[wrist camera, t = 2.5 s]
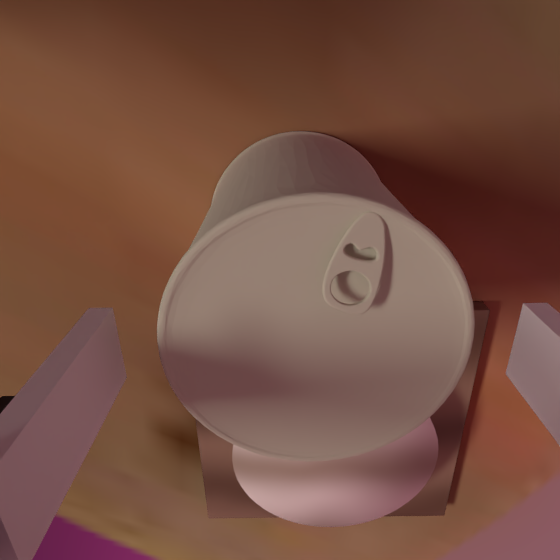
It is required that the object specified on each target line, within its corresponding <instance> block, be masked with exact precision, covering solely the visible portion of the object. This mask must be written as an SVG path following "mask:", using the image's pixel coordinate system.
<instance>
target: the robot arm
mask: <svg viewBox="0 0 560 560" xmlns="http://www.w3.org/2000/svg"><path fill="white" fill-rule="evenodd" d="M506 375H507V376H508V378H509V379H510V380H511V382H512V383H513V384H514V386H515V387H516V388H517V390H518V391H519V392H520V394H521V395H522V396H523V398H524V399H525V400H526V402H527V403H528V404H529V406H530V407H531V408H532V410H533V411H534V412H535V414H536V415H537V416H538V418H539V419H540V420H541V422H542V423H543V424H544V426H545V427H546V428H547V430H548V431H549V432H550V434H551V435H552V436H553V438H554V439H555V440H556V442H557V443H558V444H559V446H560V313H559V312H558V311H556V310H555V309H554V308H553V307H552V306H550V305H549V304H548V303H523V306H522V310H521V314H520V318H519V322H518V326H517V330H516V334H515V338H514V342H513V346H512V350H511V354H510V358H509V362H508V366H507V370H506ZM126 378H127V377H126V372H125V367H124V362H123V357H122V352H121V347H120V342H119V337H118V332H117V327H116V322H115V317H114V312H113V308H89V309H88V310H87V311H86V312H85V313H84V315H83V316H82V317H81V318H80V319H79V321H78V322H77V323H76V324H75V325H74V327H73V328H72V329H71V330H70V331H69V332H68V334H67V335H66V336H65V337H64V338H63V340H62V341H61V342H60V343H59V344H58V346H57V347H56V348H55V349H54V350H53V352H52V353H51V354H50V355H49V356H48V358H47V359H46V360H45V361H44V362H43V363H42V365H41V366H40V367H39V368H38V369H37V371H36V372H35V373H34V374H33V375H32V377H31V378H30V379H29V380H28V381H27V383H26V384H25V385H24V386H23V387H22V389H21V390H20V391H19V392H18V393H17V395H16V396H2V397H1V398H0V560H32V559H33V557H34V555H35V553H36V551H37V549H38V547H39V545H40V543H41V541H42V539H43V538H44V536H45V534H46V532H47V530H48V528H49V526H50V524H51V522H52V520H53V518H54V516H55V515H56V513H57V511H58V509H59V507H60V505H61V503H62V501H63V499H64V497H65V495H66V493H67V491H68V489H69V488H70V486H71V484H72V482H73V480H74V478H75V476H76V474H77V472H78V470H79V468H80V466H81V464H82V463H83V461H84V459H85V457H86V455H87V453H88V451H89V449H90V447H91V445H92V443H93V441H94V439H95V437H96V436H97V434H98V432H99V430H100V428H101V426H102V424H103V422H104V420H105V418H106V416H107V414H108V412H109V411H110V409H111V407H112V405H113V403H114V401H115V399H116V397H117V395H118V393H119V391H120V389H121V387H122V385H123V384H124V382H125V380H126Z"/></svg>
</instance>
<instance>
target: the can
mask: <svg viewBox="0 0 560 560" xmlns="http://www.w3.org/2000/svg"><path fill="white" fill-rule="evenodd" d="M474 327H475V318H474V307H473V301H472V296H471V292H470V289H469V286H468V283H467V280H466V277H465V275H464V273H463V271H462V269H461V267H460V265H459V264H458V262H457V260H456V259H455V257H454V256H453V254H452V253H451V252H450V250H449V249H448V248H447V247H446V245H445V244H444V243H443V242H442V241H441V240H440V239H439V238H438V237H437V236H436V235H435V234H434V233H433V232H432V231H431V230H430V229H429V228H427V227H426V226H425V225H423V224H422V223H421V222H420V221H418V220H417V219H415V218H414V217H413V216H412V215H411V214H410V213H409V211H408V210H407V209H406V208H405V207H404V206H403V205H402V204H401V203H400V202H399V201H398V200H397V199H396V198H395V197H394V196H393V195H392V193H391V192H390V191H389V190H388V189H387V188H386V187H385V186H384V185H383V184H382V182H381V181H380V179H379V177H378V175H377V173H376V172H375V170H374V169H373V167H372V166H371V165H370V163H369V162H368V161H367V160H366V159H365V158H364V157H363V156H362V155H361V154H360V153H359V152H358V151H357V150H355V149H354V148H353V147H351V146H350V145H348V144H346V143H345V142H343V141H341V140H339V139H337V138H334V137H331V136H328V135H325V134H321V133H317V132H307V131H293V132H286V133H280V134H276V135H273V136H270V137H267V138H265V139H262V140H260V141H258V142H256V143H255V144H253V145H251V146H250V147H248V148H247V149H245V150H244V151H243V152H242V153H240V154H239V155H238V156H237V157H236V158H235V159H234V160H233V161H232V162H231V164H230V165H229V166H228V167H227V169H226V170H225V171H224V173H223V175H222V176H221V178H220V180H219V182H218V184H217V186H216V189H215V192H214V195H213V199H212V204H211V207H210V209H209V211H208V213H207V215H206V217H205V219H204V221H203V223H202V225H201V227H200V229H199V231H198V233H197V235H196V237H195V239H194V241H193V242H192V244H191V246H190V248H189V250H188V251H187V252H186V254H185V255H184V256H183V257H182V259H181V260H180V262H179V263H178V265H177V266H176V268H175V269H174V271H173V273H172V275H171V277H170V279H169V281H168V284H167V286H166V288H165V291H164V293H163V297H162V300H161V304H160V309H159V314H158V322H157V340H158V348H159V355H160V359H161V363H162V366H163V369H164V372H165V375H166V377H167V379H168V381H169V384H170V386H171V387H172V389H173V391H174V392H175V394H176V395H177V397H178V398H179V400H180V401H181V403H182V404H183V405H184V407H185V408H186V409H187V410H188V411H189V412H190V413H191V414H192V416H194V417H195V418H196V419H197V420H198V421H199V422H200V423H201V424H202V425H204V426H205V427H206V428H208V429H209V430H210V431H212V432H213V433H215V434H216V435H217V436H219V437H221V438H222V439H224V440H226V441H228V442H230V443H232V444H234V445H236V446H238V447H241V448H243V449H245V450H248V451H250V452H254V453H257V454H260V455H264V456H268V457H272V458H278V459H283V460H292V461H307V462H310V461H329V460H337V459H343V458H348V457H353V456H357V455H361V454H364V453H367V452H370V451H373V450H376V449H379V448H381V447H383V446H386V445H388V444H390V443H392V442H394V441H396V440H398V439H400V438H401V437H403V436H405V435H406V434H408V433H410V432H411V431H413V430H414V429H416V428H417V427H418V426H420V425H421V424H422V423H424V422H425V421H426V420H427V419H428V418H429V417H430V416H431V415H433V414H434V413H435V412H436V411H437V410H438V408H439V407H440V406H441V405H442V404H443V403H444V402H445V401H446V399H447V398H448V397H449V395H450V394H451V393H452V391H453V390H454V388H455V387H456V385H457V383H458V381H459V380H460V378H461V376H462V374H463V372H464V370H465V368H466V365H467V362H468V359H469V356H470V353H471V348H472V344H473V338H474Z"/></svg>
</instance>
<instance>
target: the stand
mask: <svg viewBox="0 0 560 560" xmlns="http://www.w3.org/2000/svg"><path fill="white" fill-rule="evenodd" d="M473 307H474V318H475V327H474V338H473V344H472V348H471V353H470V356H469V359H468V362H467V365H466V368H465V370H464V372H463V374H462V376H461V378H460V380H459V381H458V383H457V385H456V387H455V388H454V390H453V391H452V393H451V394H450V395H449V397H448V398H447V399H446V401H445V402H444V403H443V404H442V405H441V406H440V407H439V408H438V410H437V411H436V412H435V413H434V414H433V415H431V416H430V417H429V418H428V419H427V420H426V421H425V422H424V423H422V424H421V425H420V426H418V427H417V428H416V429H414V430H413V431H411V432H410V433H408V434H406V435H405V436H403V437H401V438H400V439H398V440H396V441H394V442H392V443H390V444H388V445H386V446H383V447H381V448H379V449H376V450H373V451H370V452H367V453H364V454H361V455H357V456H353V457H348V458H343V459H337V460H329V461H310V462H307V461H292V460H283V459H278V458H272V457H268V456H264V455H260V454H257V453H254V452H250V451H248V450H245V449H243V448H241V447H238V446H236V445H234V444H232V443H230V442H228V441H226V440H224V439H222V438H221V437H219V436H217V435H216V434H215V433H213V432H212V431H210V430H209V429H208V428H206V427H205V426H204V425H202V424H201V423H200V422H199V421H198V420H197V419H196V418H195V419H196V426H197V434H198V441H199V449H200V457H201V464H202V472H203V479H204V487H205V495H206V502H207V510H208V517H209V518H272V517H280V518H283V519H285V520H289V521H292V522H295V523H299V524H304V525H310V526H319V527H339V526H349V525H356V524H360V523H365V522H368V521H371V520H375V519H378V518H380V517H383V516H442V515H445V510H446V506H447V501H448V497H449V492H450V488H451V483H452V479H453V474H454V470H455V465H456V461H457V456H458V452H459V447H460V443H461V438H462V434H463V429H464V425H465V420H466V416H467V411H468V407H469V402H470V398H471V393H472V389H473V384H474V380H475V375H476V371H477V366H478V362H479V357H480V353H481V348H482V344H483V339H484V335H485V330H486V326H487V321H488V317H489V312H490V310H489V309H488V307H487V306H486V305H485V304H484V303H483V302H473Z"/></svg>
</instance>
